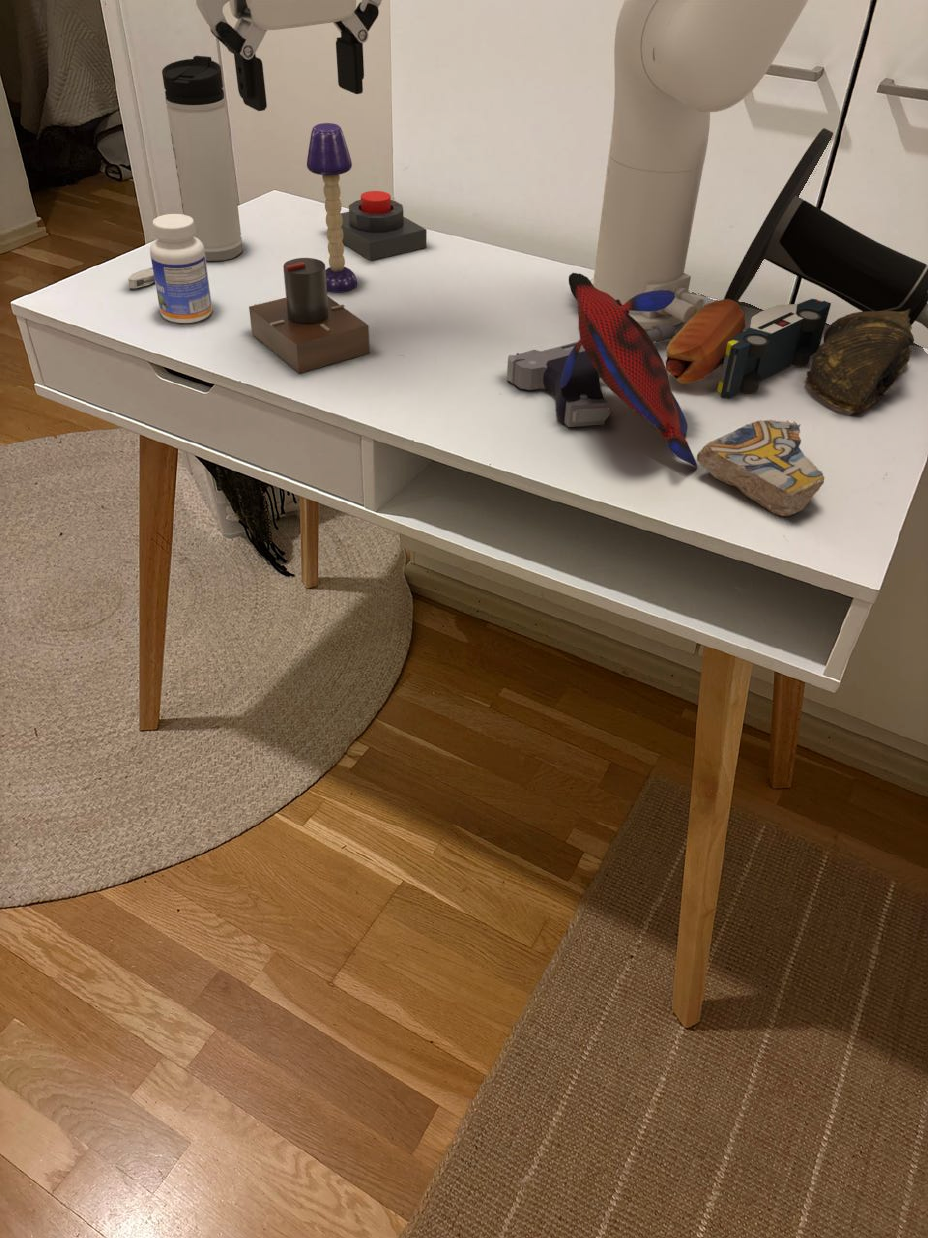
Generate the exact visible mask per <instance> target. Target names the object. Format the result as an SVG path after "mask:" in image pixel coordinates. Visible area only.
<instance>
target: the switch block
mask: <svg viewBox="0 0 928 1238" xmlns="http://www.w3.org/2000/svg"><path fill="white" fill-rule="evenodd" d="M340 213H341V215H342V219H343V223H342V226H341V228H342V230H343V240H342V242H343V245H344V246H347V247H348V248H350V249H351V250H353V251H355V252H357V253H358V254H360V255H361V256H363V257H364V258H366V259H367V260H369V261H375V260H380V259H384V258H388V257H392V256H396V255H401V254H405V253H410V252H414V251H417V250H421V249H425V248H427V233H428V232H427V229H426V228H425V227H422V226H421V225H419V224H418V223H416V222H414V221H413V220H411V219H409V218H407V217H405V215H404V206H403V204H402V203H400V202H398V201H396V200H393V199H391V211H390V212H387V213H382V214H371V213H366V212H363V211H361V199H358V200H354V201H353V202H352V203H349V205H348V211H345V212H340Z"/></svg>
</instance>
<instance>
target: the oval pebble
mask: <svg viewBox="0 0 928 1238" xmlns="http://www.w3.org/2000/svg"><path fill="white" fill-rule="evenodd" d="M127 279H128V287H129V288H130V289H138V288H142V287H146V286H149V285H152V284H155V278H154V273H153V267H150V268H146V269H143V270H139V271H136V272H134V273H132V274H131V275H130V276H128V277H127Z"/></svg>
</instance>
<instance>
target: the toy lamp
mask: <svg viewBox="0 0 928 1238" xmlns="http://www.w3.org/2000/svg"><path fill="white" fill-rule="evenodd" d="M311 129H312V130H311V133H310V139H309V144H308V152H307V159H306V168H307V170H308V171H309V172H311V173H313V174H316V175H320V176H322V178H321V179H322V182H323V183H324V185H323V195H324V198H325V200H324V210H325V212H326V215H325V224H326V227H327V229H326V239H327V241H328V242H327V252H328V254H329V257H328V266H329V267H328V268H325V269H326V285H327V292H331V293H345V292H350V291H352V290H354V289H356V287H357V286H358V279H357V276H356V274H355V272H354V271H353V270H351V269H350V268H349V267H347V266H345V265H346V260H345V256H344V252H345V244H344V243H343V242H342V240H343V230H342V228H341V226H342V223H343V219H342V215H341V213H342V201H341V193H342V192H341V186H340V184H339V183H340V177H341V176H340V175H343V174H346V173H348V172H349V171H350V170H351V169H352V167H353V162H352V158H351V155H350V151H349V147H348V145H347V141H346V138H345V135H344V132H343V129H342V127H341V126H340V125H339V124H337V123H333V122H324V123H323V122H322V123H317V124H316V125H314V126H313V127H312V128H311Z"/></svg>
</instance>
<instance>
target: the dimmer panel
mask: <svg viewBox="0 0 928 1238" xmlns="http://www.w3.org/2000/svg"><path fill="white" fill-rule="evenodd" d="M327 301H328V317H327V318H326V319H325V320H323V321H321V322H318V323H312V324H302V323H297V322H294V321H292V320H290V319H289V318H288V313H287V302H286V297H283V298H279V299H274V300H270V301H266V302H262V303H258V304H255V305H250V306H248V312H249V320H250V328H251V335H252V336H254V337H255V338H256V339H257V340H259V342H261V343H262V344H263V345H264V346H266V347H267V349H269V350H270V351H272V352H273V353H274V354H275V355H277V356H278V357H279V358H280V359H281V360H282V361H284V362H285V363H286V364H287V365H288V366H289V367H291V368H292V369H293V370H295V371H296V372H297V373H298V374H303V373H305V372H309V371H312V370H313V371H314V370H316V369H319V368H323V367H326V366H329V365H333V364H337V363H341V362H345V361H347V360H351V359H353V358H357V357H361V356H364V355H368V354H371V353H370V350H371V349H370V326H369V324H368V323H366V322H365V321H363V320H362V319H360V317H358V316H357V315H355V314H353V312H351V311H350V310H348V309H346V308H345V307H346V306H345V304H343V303H342V304H340V303H338V302H337V301H335V300H334V299H333V298H331V297H330V296H328V295H327Z"/></svg>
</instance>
